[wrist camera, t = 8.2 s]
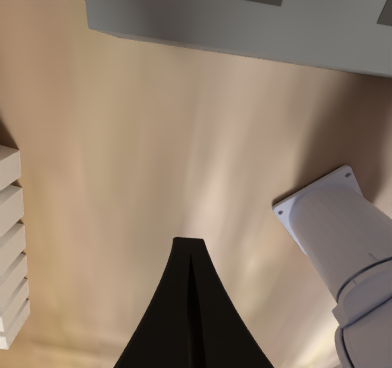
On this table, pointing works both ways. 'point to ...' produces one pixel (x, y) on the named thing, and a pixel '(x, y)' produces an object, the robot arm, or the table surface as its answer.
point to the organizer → (12, 250)
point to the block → (261, 29)
